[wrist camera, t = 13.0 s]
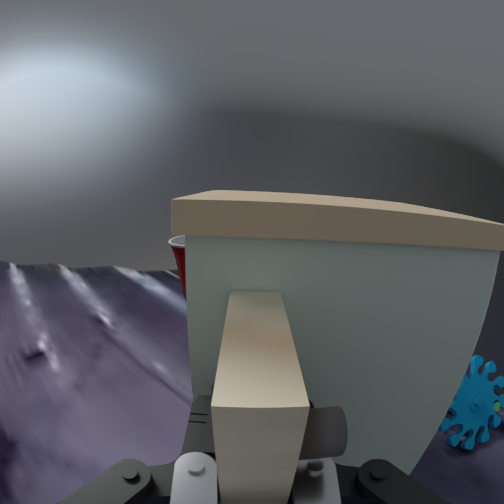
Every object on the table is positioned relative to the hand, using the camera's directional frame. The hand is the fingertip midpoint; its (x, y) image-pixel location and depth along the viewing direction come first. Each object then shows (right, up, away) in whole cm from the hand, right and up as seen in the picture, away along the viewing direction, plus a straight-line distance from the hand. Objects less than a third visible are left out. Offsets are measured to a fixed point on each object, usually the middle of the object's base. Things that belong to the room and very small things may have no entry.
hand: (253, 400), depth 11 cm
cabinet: (+4, -12, +8) cm, 15 cm away
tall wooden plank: (0, -14, +1) cm, 14 cm away
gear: (+22, -13, +10) cm, 27 cm away
